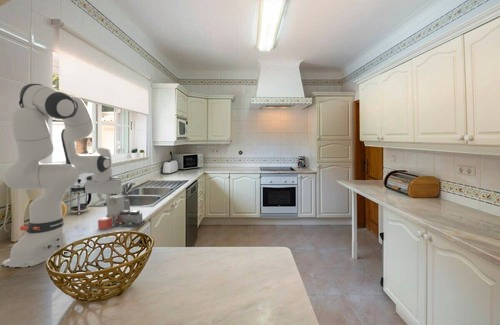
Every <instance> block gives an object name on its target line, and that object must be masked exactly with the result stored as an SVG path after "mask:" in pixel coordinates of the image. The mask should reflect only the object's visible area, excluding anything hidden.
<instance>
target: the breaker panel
mask: <svg viewBox="0 0 500 325" xmlns="http://www.w3.org/2000/svg"><path fill="white" fill-rule="evenodd" d="M117 221H118V223H115V224H114V225H113V226H114V227H115V228H116V227H117V228H118V227H119V228H121V227H122V228H135V227H137V226H139V225H141V224H142V223H144V222H145V221H146V219H145V218H143V212H140V213H139V214H137V215H129V214H127V215H121V214H118V215H117Z"/></svg>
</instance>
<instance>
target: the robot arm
mask: <svg viewBox="0 0 500 325" xmlns="http://www.w3.org/2000/svg"><path fill="white" fill-rule="evenodd" d="M18 104H19V106H20V108H17V109H16V110H14V111H13V112H12V113H11V125H12V126H11V127H12V132H13V136H14V139H15V143H16V147H17V153H18V154H17V158H16V161H15V162H14V163H13V164H11V165H10V166H9V167H8V168H6V170H5V172H4V173H3V181H4V184H5V185H6V186H7V187H8V188H10V189H13V190H23V191H25V190H26V191H27V190H44V194H43V195H41V196H39V197H37V198H35V199H33V200H32V201H31V202H30V203H29V205H28V214H29V221H28V224H27V225H20V227H19V230H20V231H25V233H24V234H23V235H22V237H20V238H19V240H18V241H17V242H16V243H14V245H12V247H11V249H10V251H9V252H10V253H9V254H10V255H9V257H8V258H7V259H6V260H4V261H2V264H3V265H4V266H3V265H2V266H3V267H6V266H9V267H8V268H15V267H21V268H28V266H30V267H33V266H36V265H39V264H43V262H46V261H48V260H47V259H48V258H49V257H50V256H51V255H52V254H53V253H54V252H55V251H57V250H59V249H60V248H62V247H64V246H65V245H68V242H67V240H66V235H65V231H64V223H65V221H64V217H63V211H62V210H63V209H62V207H63V199H64V196H65V194H66V193H67V191H68V190H69V189H70V188H71V187H73V186H75V185H76V183H77V182H78V181H79V177H80V175H81V174H91V175H87V176H85V177H84V178H85V182H84V190H85V193H87V194H96V196H97V197H98V201H99V202H105V203H106V202H108V201H109V198H110V196H112V195H120V194H122V192H123V187H122V180H121V178H119V177H118V176H113V170H112V164H113V163H112V155H111V150H110V149H109V148H107V147H95V148H94V149H93V153H92V154H81V153H78V152H77V146H76V142H77V141H80V140H83V139H86V138H87V137H89V136H90V135H91V134H92V133H93V131H94V128H95V125H94V122H93V118H92V116H91V113H90V111H89V109H88V107H87V105H86V104H85V102H84V101H83V99H82V98H81V97H78V96H76V95H69V94H67V93H65V92H63V91H59V90H57V89H56V88H53V87H52V86H51V87H50V86H46V85H43V84H40V83H28V84H26V85H24V86H23V87H22V88H21V90H20V92H19V102H18ZM50 118H53V119H58V120H62V122H63V125H64V129H62V131H61V134H60V137H61V143H62V144H61V145H62V149H63V152H64V156H65V163H64V162H59V163H58V162H54V163H53V162H52V163H50V162H49V163H46V162H45V163H42V162H41V161H42V160H44V159H47V158H48V157H50V156H51V155H52V154H53V152H54V145H53V140H52V135H51V132H50V127H49V119H50ZM103 194H104V195H105V194H106V197H103V196H102V195H103Z"/></svg>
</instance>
